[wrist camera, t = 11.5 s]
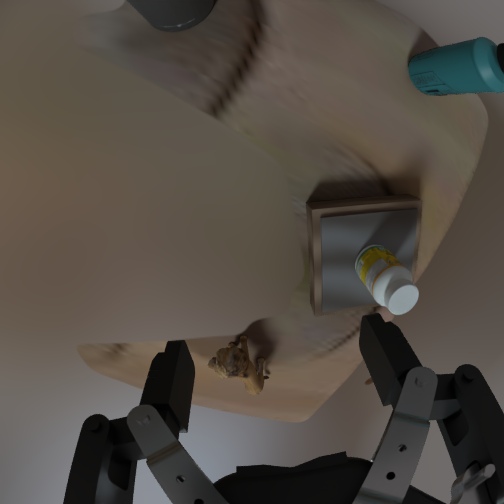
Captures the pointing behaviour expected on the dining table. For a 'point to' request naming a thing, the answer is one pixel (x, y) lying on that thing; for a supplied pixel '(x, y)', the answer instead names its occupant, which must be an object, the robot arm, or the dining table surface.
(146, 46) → the dining table surface
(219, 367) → the lion figurine
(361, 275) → the supplement bottle
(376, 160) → the dining table surface
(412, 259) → the wooden framed mirror
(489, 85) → the beverage bottle
